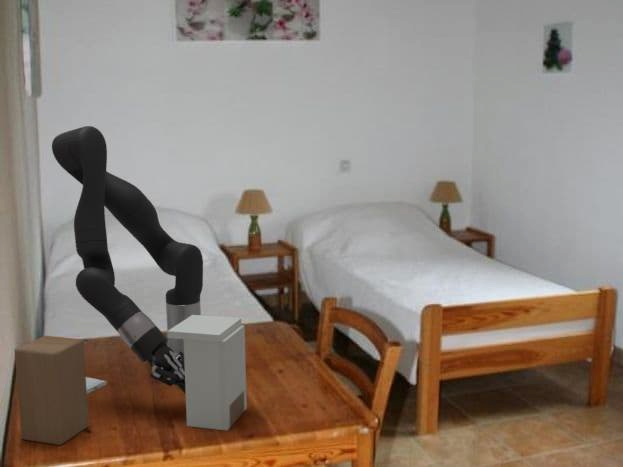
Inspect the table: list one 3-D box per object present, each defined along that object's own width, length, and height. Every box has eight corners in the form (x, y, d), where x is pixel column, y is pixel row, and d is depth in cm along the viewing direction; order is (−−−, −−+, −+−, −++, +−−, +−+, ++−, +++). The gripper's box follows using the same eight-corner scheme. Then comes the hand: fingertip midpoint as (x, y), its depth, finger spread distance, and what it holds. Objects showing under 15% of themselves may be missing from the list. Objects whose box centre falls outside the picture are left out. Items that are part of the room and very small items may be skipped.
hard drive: (45, 383, 179) (83, 391, 174) (69, 372, 186) (106, 379, 181) (46, 389, 179) (83, 397, 174) (70, 378, 187) (107, 386, 181)
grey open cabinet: (195, 402, 169) (192, 314, 166) (247, 407, 166) (245, 318, 162) (171, 425, 157) (167, 331, 153) (226, 431, 153) (223, 335, 150)
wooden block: (51, 420, 160) (45, 334, 156) (89, 426, 157) (84, 338, 153) (20, 439, 150) (13, 348, 147) (60, 446, 147) (54, 353, 144)
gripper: (137, 334, 155) (190, 394, 153) (166, 318, 167) (215, 373, 166) (117, 355, 157) (168, 414, 156) (146, 337, 170) (194, 392, 168)
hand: (192, 393), depth 161 cm, fingers closed
